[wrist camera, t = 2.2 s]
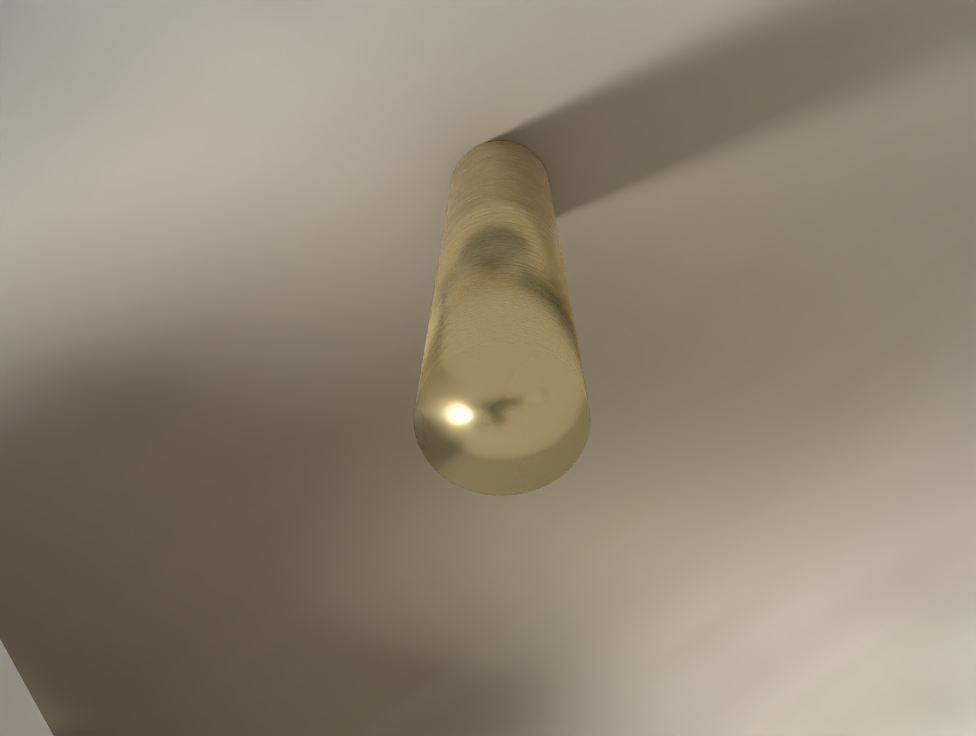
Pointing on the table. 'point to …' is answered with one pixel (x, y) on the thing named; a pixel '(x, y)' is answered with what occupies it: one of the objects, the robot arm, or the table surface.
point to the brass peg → (501, 334)
